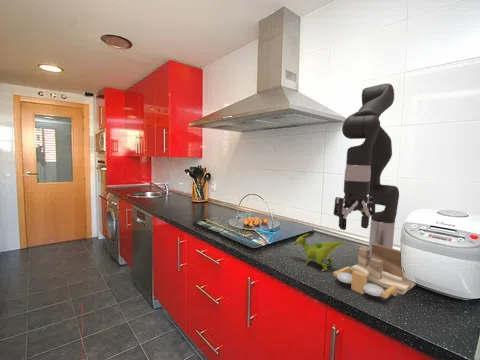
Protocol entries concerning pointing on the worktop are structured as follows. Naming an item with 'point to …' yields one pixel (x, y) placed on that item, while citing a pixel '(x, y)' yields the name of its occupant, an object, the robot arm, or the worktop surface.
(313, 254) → the toy
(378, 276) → the display stand
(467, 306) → the worktop surface
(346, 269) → the glasses
